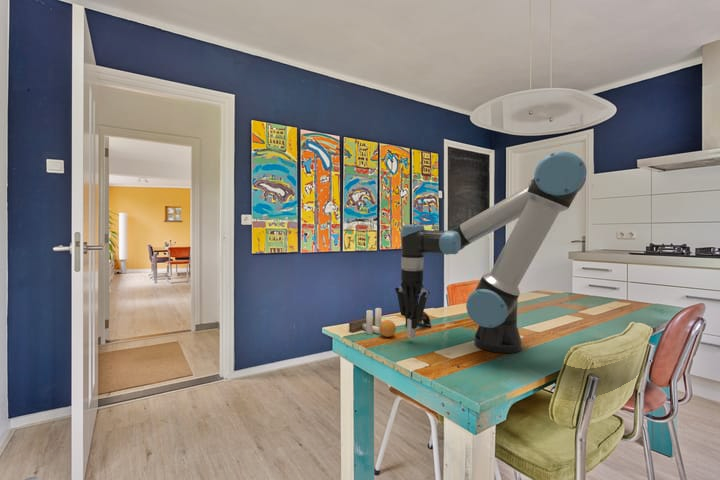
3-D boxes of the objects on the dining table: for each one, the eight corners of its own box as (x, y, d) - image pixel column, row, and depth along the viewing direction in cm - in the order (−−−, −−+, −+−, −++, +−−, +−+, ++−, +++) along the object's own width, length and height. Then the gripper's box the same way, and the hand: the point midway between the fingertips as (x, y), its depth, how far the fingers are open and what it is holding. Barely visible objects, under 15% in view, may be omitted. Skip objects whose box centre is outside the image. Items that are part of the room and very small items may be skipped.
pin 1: (373, 333, 135) (374, 310, 135) (369, 334, 134) (370, 312, 133) (369, 332, 137) (369, 309, 137) (364, 333, 135) (365, 310, 135)
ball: (383, 324, 137) (393, 337, 134) (373, 329, 132) (384, 342, 130) (390, 314, 134) (401, 326, 131) (381, 319, 129) (392, 332, 127)
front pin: (383, 327, 135) (366, 322, 141) (378, 328, 134) (361, 324, 139) (383, 333, 136) (366, 328, 141) (379, 335, 134) (362, 330, 140)
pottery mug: (434, 331, 140) (426, 314, 138) (412, 340, 142) (403, 324, 140) (430, 316, 152) (422, 300, 150) (409, 324, 154) (401, 308, 152)
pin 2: (382, 330, 139) (382, 308, 139) (378, 331, 137) (378, 309, 137) (377, 329, 141) (378, 307, 140) (373, 330, 139) (373, 308, 139)
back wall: (375, 325, 146) (375, 317, 145) (352, 332, 136) (352, 323, 136) (371, 324, 147) (371, 316, 147) (349, 331, 137) (349, 322, 137)
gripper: (434, 270, 123) (433, 338, 124) (403, 266, 132) (402, 330, 133) (422, 272, 117) (420, 344, 118) (390, 268, 126) (389, 335, 127)
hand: (411, 336), depth 126 cm, fingers closed
